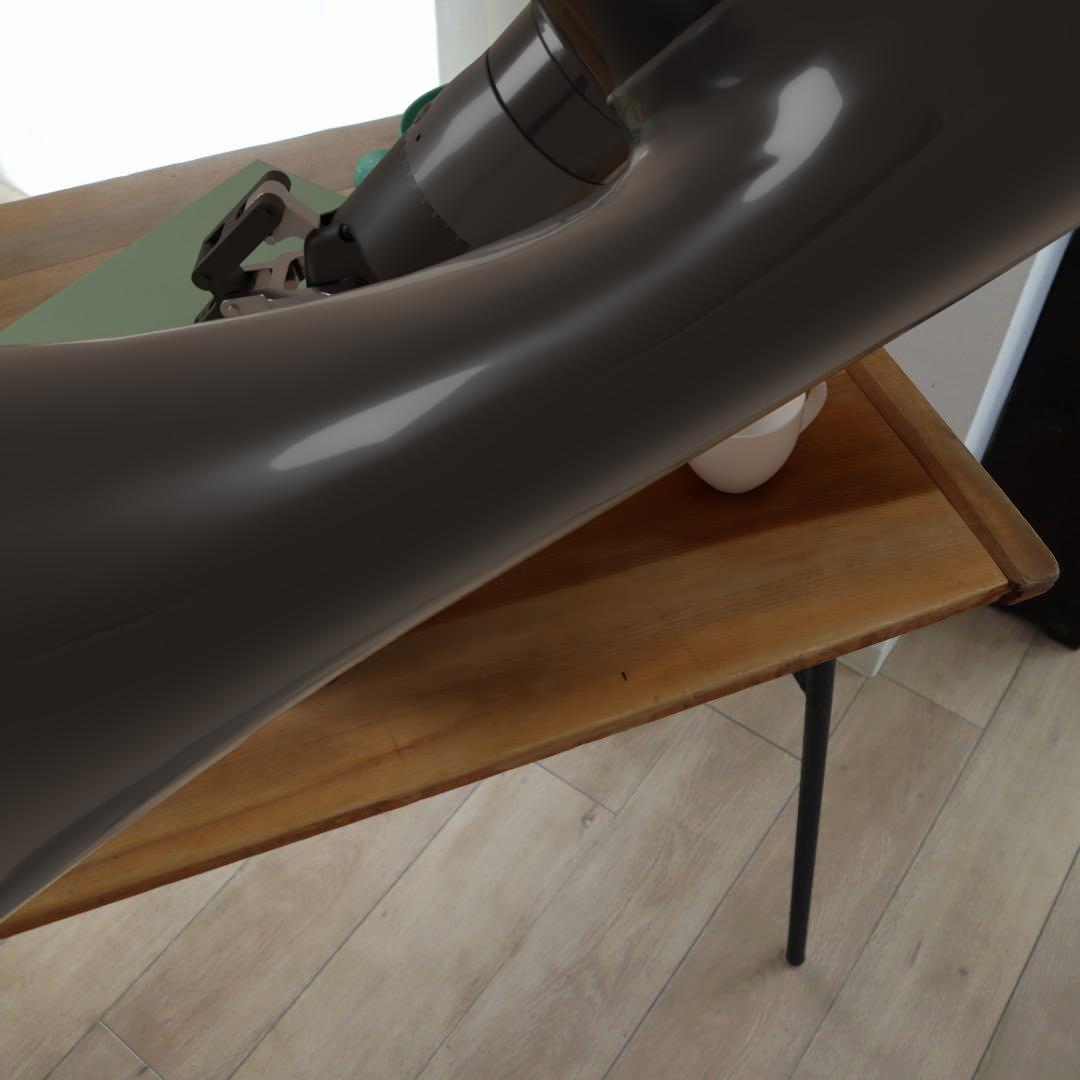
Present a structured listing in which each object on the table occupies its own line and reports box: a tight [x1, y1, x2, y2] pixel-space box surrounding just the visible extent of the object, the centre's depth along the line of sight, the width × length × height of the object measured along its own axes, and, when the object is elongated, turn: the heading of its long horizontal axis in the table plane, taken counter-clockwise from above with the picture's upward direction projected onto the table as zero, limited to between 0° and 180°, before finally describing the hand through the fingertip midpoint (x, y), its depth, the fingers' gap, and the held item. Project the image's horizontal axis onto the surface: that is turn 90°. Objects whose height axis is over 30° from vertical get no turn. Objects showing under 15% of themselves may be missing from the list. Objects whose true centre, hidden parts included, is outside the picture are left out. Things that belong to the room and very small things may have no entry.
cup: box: [686, 380, 828, 494], centre depth 72 cm, size 8×10×7 cm
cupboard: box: [0, 158, 349, 345], centre depth 67 cm, size 13×21×19 cm, turn 142°
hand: (277, 397), depth 59 cm, fingers open, 8 cm apart
